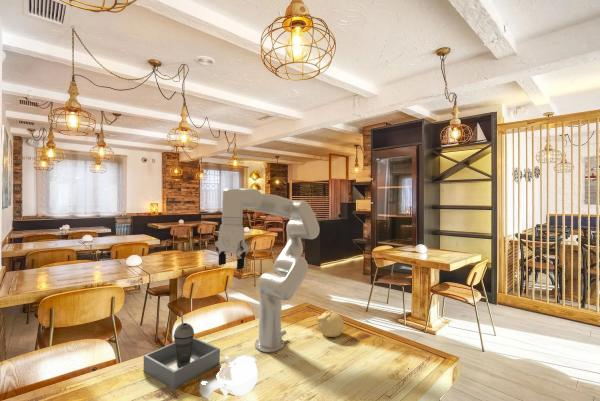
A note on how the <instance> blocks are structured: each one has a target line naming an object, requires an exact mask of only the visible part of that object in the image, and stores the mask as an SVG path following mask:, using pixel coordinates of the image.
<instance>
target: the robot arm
mask: <svg viewBox="0 0 600 401" xmlns="http://www.w3.org/2000/svg"><path fill="white" fill-rule="evenodd" d="M221 201H222V203H221V204H222V205H221V206H222V209H221V210H222V212H221V216H222V217H221V224H220V225H219V229H218V238H217V240H216V241H215V242H214V245H215V246H214V247H215V250H216V251H217V255H218V266H223V265H226V263H227V253H231V254H236V255H237V257H238V258H236V269H237V270H242V269H244V268H245V258H246V257H247V256H248V255H249V251H250V249H251V247H250V246H249V245H248V244H247V243H246V242H245V229H244V228H245V227H244V225H243V214H244V211H243V210H245V209H246V210H249V211H255V212H258V213H263V214H268V215H271V216H277V217H281V218H285V219H290V220H288V222H287V223H286V239H287V241H286V244H285V246H284V247H283V249H282V251H281V252H280V254H278V256H277V257H276V259H275V261H274V263H273V271H274V272H275V273H274V272H264V273H262V274H261V275H260V277H259V278H258V280H257V290H258V291H257V292H258V297H259V312H258V316H259V318H258V339H256V341H255V342H254V347H255V348H256V350H258V351H260V352H263V353H275V352H278V351H281V350H282V349H283V348H284V346H285V342H284V340H283V339H282V337H283V336H285V335H286V334H287V330H285V329H283V330H282V306H283V305H282V301H290V300H291V299H293V297H295V294H296V293H297V292H298V290H299V288H300V286H301V285H302V283H303V282H304V280H305V278H306V276H307V274H308V271H309V270H308V269H309V265H308V261H307V260H306V259H305V258H304V257H302V254H303V252H304V246H303V243H302V242H303V241H302V239H307V240H314V239H316V238H318V236H319V234H320V229H321V228H320V226H319V225H320V223H319V222H318V220H317V217H316V215H315V213H314V210H313V209H312V206H311V205H310V204H309V202H307V201H305V200H295V199H289V198H286V197H284V196H279V195H276V194H269V193H262V192H261V191H260V190H258V189H256V188H248V187H247V188H244V187H243V188H239V187H238V188H224V189H223V191H222V200H221Z"/></svg>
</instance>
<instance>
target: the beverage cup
mask: <svg viewBox="0 0 600 401" xmlns="http://www.w3.org/2000/svg"><path fill="white" fill-rule="evenodd" d="M183 315H184V314H183V311H180V316H181V317H180V318H181V324H179V325H177V326H176V327H175V330H174V334H173V340H174V342H175V348H176V361H177V367H178V368H181V367H183V366H185V365H187V364H188V363H190V359H191V350H192V340H193V337H194V338H195V331H194V328H193V326H192V325H191V324H190V323H187V322H184V317H183Z"/></svg>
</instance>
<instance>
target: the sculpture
mask: <svg viewBox="0 0 600 401" xmlns="http://www.w3.org/2000/svg"><path fill="white" fill-rule="evenodd" d="M316 320H317V322H316V323H317V327H318V328H319V329H318V330H319V331H320V333H321V334H322V335H323V336H324V337H328V338H336V337H339V336H340V335H342V333H343V331H344V326H345V325H344V321H343V320H344V319H343V318H342V317H341V315H340V314H338V313H337V312H335V310H331V311H329V310H325V311H324V312H323V313H322V314H321V315H319V316H318V317H317V319H316Z"/></svg>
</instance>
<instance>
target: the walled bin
mask: <svg viewBox="0 0 600 401" xmlns="http://www.w3.org/2000/svg"><path fill="white" fill-rule="evenodd" d="M220 356H221V348H220V347H217V346H214V345H212V344H210V343H207V342H206V341H203V340H201V339H199V338H197V337H195V336H194V337H193V340H192V350H191V359H190V363H188V364H187V365H185V366H183V367H181V368H178V367H177V361H176V348H175V341H174V342H172V343H170V344H167V345H165V346H162V347H161V348H160V347H159V348H158V349H155V350H154V351H152V352H149V353H147V354H144V355H143V373H145V374H146V375H148V376H149V377H151V378H153V379H154V380H156V381H158V382H160V383H161V384H163V385H164V386H166V387H168V388H169V389H171V390H173V391H175V390H176V389H179V388H181V387H182V386H184V385H185V384H187V383H188V382H191V381H193V380H194V379H196V378H198V377H199V376H201V375H203V374H205V373H206V372H209V371H210V370H211V369H213V368H215V367H217V366H219V365H220V360H221V359H220V358H221V357H220Z"/></svg>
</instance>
